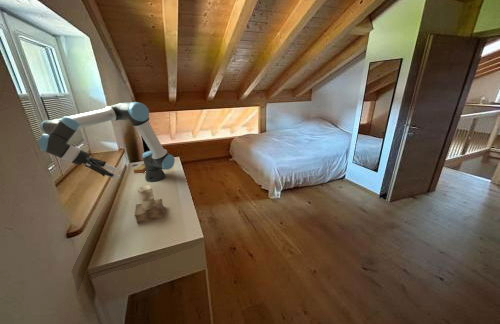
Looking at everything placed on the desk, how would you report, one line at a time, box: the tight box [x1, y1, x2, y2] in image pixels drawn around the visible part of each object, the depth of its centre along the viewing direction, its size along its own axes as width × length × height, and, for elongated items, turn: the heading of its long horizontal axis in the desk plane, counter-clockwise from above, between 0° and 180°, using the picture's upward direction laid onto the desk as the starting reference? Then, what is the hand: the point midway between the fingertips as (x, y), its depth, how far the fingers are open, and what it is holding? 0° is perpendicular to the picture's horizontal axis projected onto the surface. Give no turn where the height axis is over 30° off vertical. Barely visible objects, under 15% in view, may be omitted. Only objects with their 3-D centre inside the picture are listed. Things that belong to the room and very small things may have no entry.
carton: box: [133, 163, 146, 174], centre depth 192 cm, size 8×16×4 cm, turn 177°
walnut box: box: [134, 198, 165, 224], centre depth 123 cm, size 14×12×6 cm
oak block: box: [136, 184, 156, 211], centre depth 120 cm, size 6×6×12 cm
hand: (117, 174), depth 121 cm, fingers open, 13 cm apart
